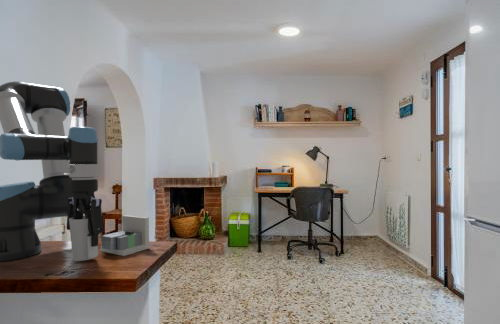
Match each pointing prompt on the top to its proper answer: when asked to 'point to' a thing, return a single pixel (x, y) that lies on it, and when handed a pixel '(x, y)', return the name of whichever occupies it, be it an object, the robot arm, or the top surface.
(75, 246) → the cup
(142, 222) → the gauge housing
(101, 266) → the top surface
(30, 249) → the robot arm
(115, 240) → the grey rectangular slab
